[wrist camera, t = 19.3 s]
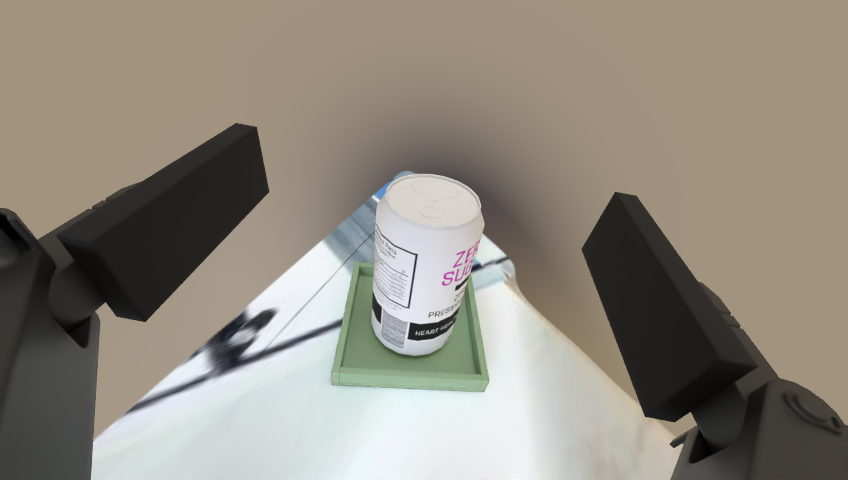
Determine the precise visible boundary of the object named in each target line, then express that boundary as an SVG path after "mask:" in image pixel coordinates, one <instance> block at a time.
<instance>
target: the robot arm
mask: <svg viewBox="0 0 848 480" xmlns="http://www.w3.org/2000/svg"><path fill="white" fill-rule="evenodd" d="M268 193H269V188H268V183H267V178H266V172H265V167H264V162H263V157H262V152H261V147H260V141H259V136H258V131H257V127H254V126H249V125H243V124H238V123H235V124H234V125H232V126H231V127H229V128H227V129H226V130H224V131H223V132H221V133H220V134H218V135H216V136H215V137H213V138H211V139H210V140H208V141H206V142H205V143H203V144H202V145H200V146H198V147H197V148H195V149H194V150H192V151H190V152H189V153H187V154H186V155H184V156H182V157H181V158H179V159H177V160H176V161H174V162H173V163H171V164H169V165H168V166H166V167H165V168H163V169H161V170H160V171H158V172H157V173H155V174H153V175H152V176H150V177H149V178H147V179H145V180H144V181H142V182H139V183H136V184H133V185H130V186H128V187H125V188H122V189H120V190H119V191H117V192H115V193H114V194H112V195H111V196H109V197H107V198H106V200H105V201H101V202H99V203H97V204H96V205H94V206H93V207H92V209H87V210H86V211H85V212H82V213H81V214H79V215H78V216H76V217H74V218H73V219H71V220H69V221H68V222H66V223H64V224H63V225H61V226H59V227H58V228H56V229H54V230H53V231H51V232H49V233H48V234H46V235H45V236H43V237H41V238H40V239H38V240H37V239H36V238H35V237H34V235H33V234H32V233H31V232H30V230H29V229H28V228H27V227H26V225H25V224H24V223H23V222H22V220H21V219H20V218H19V217H18V216H17V214H16V213H15V212H13V211H11V210H9V209H5V208H0V480H91V466H92V449H93V433H94V416H95V400H96V381H97V367H98V350H99V334H100V319H99V317H98V315H97V313H96V312H95V311H96V310H97V309H98V308H99V307H100V306H102V305H103V304H104V303H105V302H106V303H107V304H108V306H109V307H110V308H111V310H112V311H113V312H114V314H115V315H116V316H117V317H121V318H127V319H132V320H137V321H143V322H146V321H147V320H148V319H149V318H150V317H151V316H152V314H153V313H154V312H155V311H156V310H157V309H158V308H159V307H160V306H161V305H162V304H163V303H164V302H165V301H166V300H167V299H168V298H169V296H171V295H172V293H173V292H174V291H175V290H176V289H177V288H178V287H179V286H180V285H181V284H182V283H183V282H184V281H185V280H186V279H187V278H188V277H189V276H190V274H191V273H192V272H193V271H194V270H195V269H196V268H197V267H198V266H199V265H200V264H201V263H202V262H203V261H204V260H205V259H206V258H207V257H208V256H209V254H211V252H212V251H213V250H214V249H215V248H216V247H217V246H218V245H219V244H220V243H221V242H222V241H223V240H224V239H225V238H226V237H227V236H228V235H229V234H230V233H231V231H232V230H233V229H234V228H235V227H236V226H237V225H238V224H239V223H240V222H241V221H242V220H243V219H244V218H245V217H246V216H247V215H248V214H249V212H251V210H252V209H253V208H254V207H255V206H256V205H257V204H258V203H259V202H260V201H261V200H262V199H263V198H264V197H265V196H266V195H267V194H268ZM582 252H583V254H584V257H585V260H586V262H587V265H588V267H589V270H590V273H591V276H592V278H593V281H594V283H595V286H596V289H597V291H598V294H599V297H600V299H601V302H602V304H603V307H604V310H605V312H606V315H607V318H608V320H609V322H610V326H611V328H612V331H613V333H614V336H615V339H616V342H617V344H618V347H619V349H620V352H621V355H622V357H623V360H624V363H625V365H626V368H627V370H628V373H629V376H630V378H631V381H632V384H633V386H634V389H635V391H636V394H637V397H638V400H639V402H640V405H641V408H642V410H643V413H644V415H645V417H649V418H655V419H660V420H666V421H670V422H676V421H677V420H679V419H680V418H682V417H683V416H685V415H686V414H688V413H689V412H691V413H692V415H693V417H694V419H695V421H696V423H697V426H695V427H693V428H692V429H690V430H689V431H687V432H685V433H684V434H682V435H680V436H679V437H677V438H675V439H674V440H673V441H672V442H671V443H670V445H671V446H672V447H673V448H675V447H677V446H678V445H680V444H684V445H683V448H682V451H681V453H680V456H679V459H678V461H677V464H676V467H675V469H674V472H673V474H672V477H671V480H848V426H847V425H845V424H844V423H843V421H842V420H841V419H840V417H839V416H838V414H837V413H836V412H835V411H834V410H833V409H832V408H831V407H830V406H829V405H828V404H827V403H825V401H823V400H822V399H821V398H819V397H818V396H816V395H815V394H814V393H812V392H811V391H809V390H808V389H806V388H804V387H802V386H800V385H798V384H796V383H794V382H791V381H787V380H784V379H780V378H779V377H778V375H777V374H776V373H775V371H774V370H773V369H772V367H771V366H770V365H769V363H768V362H767V361H766V359H765V358H764V357H763V355H762V354H761V353H760V351H759V350H758V349H757V347H756V346H755V345H754V343H753V342H752V341H751V339H750V338H749V337H748V335H747V334H746V333H745V331H744V330H743V329H740V325H739V323H738V322H737V321H736V319H735V318H734V317H733V316H731V315H730V313H731V312H730V311H729V310H728V308H727V307H726V306H725V304H724V303H723V302H722V300H721V299H720V298H719V297H718V296H717V295H716V294H715V293H713V292H712V291H711V290H710V289H709V288H708V287H706V286H705V285H704V284H703V283H701V282H698V281H697V280H696V278H695V277H694V276H693V274H692V273H691V271H690V270H689V269H688V267H687V266H686V264H685V263H684V262H683V260H682V259H681V257H680V256H679V255H678V254H677V252H676V250H675V249H674V248H673V246H672V245H671V243H670V242H669V241H668V240H667V238H666V237H665V235H664V234H663V232H662V231H661V230H660V228H659V227H658V225H657V224H656V223H655V221H654V220H653V218H652V217H651V216H650V214H649V213H648V211H647V210H646V209H645V207H644V206H643V205H642V203H641V202H640V200H639V199H638V197H637V196H635V195H629V194H623V193H618V192H615V193H614V195H613V197H612V198H611V200H610V202H609V203H608V205H607V207H606V208H605V210H604V212H603V213H602V215H601V217H600V219H599V220H598V222H597V224H596V226H595V227H594V229H593V231H592V232H591V234H590V236H589V237H588V239H587V241H586V242H585V244H584V246H583V248H582Z"/></svg>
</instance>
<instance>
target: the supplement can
mask: <svg viewBox="0 0 848 480" xmlns="http://www.w3.org/2000/svg"><path fill="white" fill-rule="evenodd" d="M480 208H481V204H480V201H479V198H478V196H477V195H476V194H475V193H474V192H473V191H472V190H471V189H470V188H469V187H467V186H465V185H464V184H462V183H460V182H459V181H456V180H453V179H450V178H448V177H444V176H438V175H433V174H414V175H409V176H404V177H401V178H399V179H397V180H395V181H393V182H392V183H391V184H390V185H389V187H388V188H387V189H386V194H385V195H384V196H383V198H382V199H381V201H380V202H379V203H378V205H377V211H376V227H375V250H374V273H373V297H372V320H371V323H372V326H373V329H374V332H375V335H376V336H377V337H378V338H379V340H380V341H381V342H382V343H383V344H384V345H385V346H386V347H388V348H390V349H392V350H394V351H395V352H397V353H400V354H406V355H411V356H418V355H425V354H430V353H432V352H434V351H436V350H438V349H440V348H442V347H443V346H444V344H445V343H446V342H447V341H448V340H449V338H450V337H451V334H452V330H453V327H454V324H455V321H456V317H457V314H458V311H459V308H460V304H461V301H462V298H463V294H464V291H465V288H466V285H467V281H468V278H469V275H470V272H471V268H472V265H473V262H474V258H475V255H476V252H477V249H478V245H479V242H480V239H481V236H482V232H483V228H484V225H485V224H484V220H483V217H482V214H481V210H480Z"/></svg>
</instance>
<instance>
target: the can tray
mask: <svg viewBox="0 0 848 480" xmlns="http://www.w3.org/2000/svg"><path fill="white" fill-rule="evenodd" d="M373 273H374V263H362V262H361V263H360V262H355V265H354V270H353V275H352V279H351V284H350V289H349V294H348V298H347V303H346V308H345V312H344V317H343V322H342V327H341V331H340V336H339V341H338V345H337V350H336V355H335V360H334V364H333V369H332V381H333V382H332V383H333V385H352V386H373V387H394V388H416V389H437V390H458V391H480V392H484V391H485V389H486V387H487V385H488V383H489V377H488V371H487V365H486V360H485V354H484V348H483V342H482V336H481V331H480V325H479V319H478V313H477V307H476V302H475V296H474V290H473V284H472V279H471V273H470V275H469V278H468V281H467V285H466V288H465V291H464V294H463V298H462V301H461V304H460V308H459V311H458V314H457V317H456V321H455V324H454V327H453V330H452V334H451V337H450V338H449V340H448V341H447V342H446V343H445V344H444V346H443V347H442V348H440V349H438V350H436V351H434V352H432V353H430V354H425V355H418V356H411V355H406V354H400V353H397V352H395V351H394V350H392V349H390V348H388V347H386V346H385V345H384V344H383V343H382V342H381V341H380V340H379V338H378V337H377V336H376V335H375V332H374V329H373V326H372V323H371V320H372V297H373Z"/></svg>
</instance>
